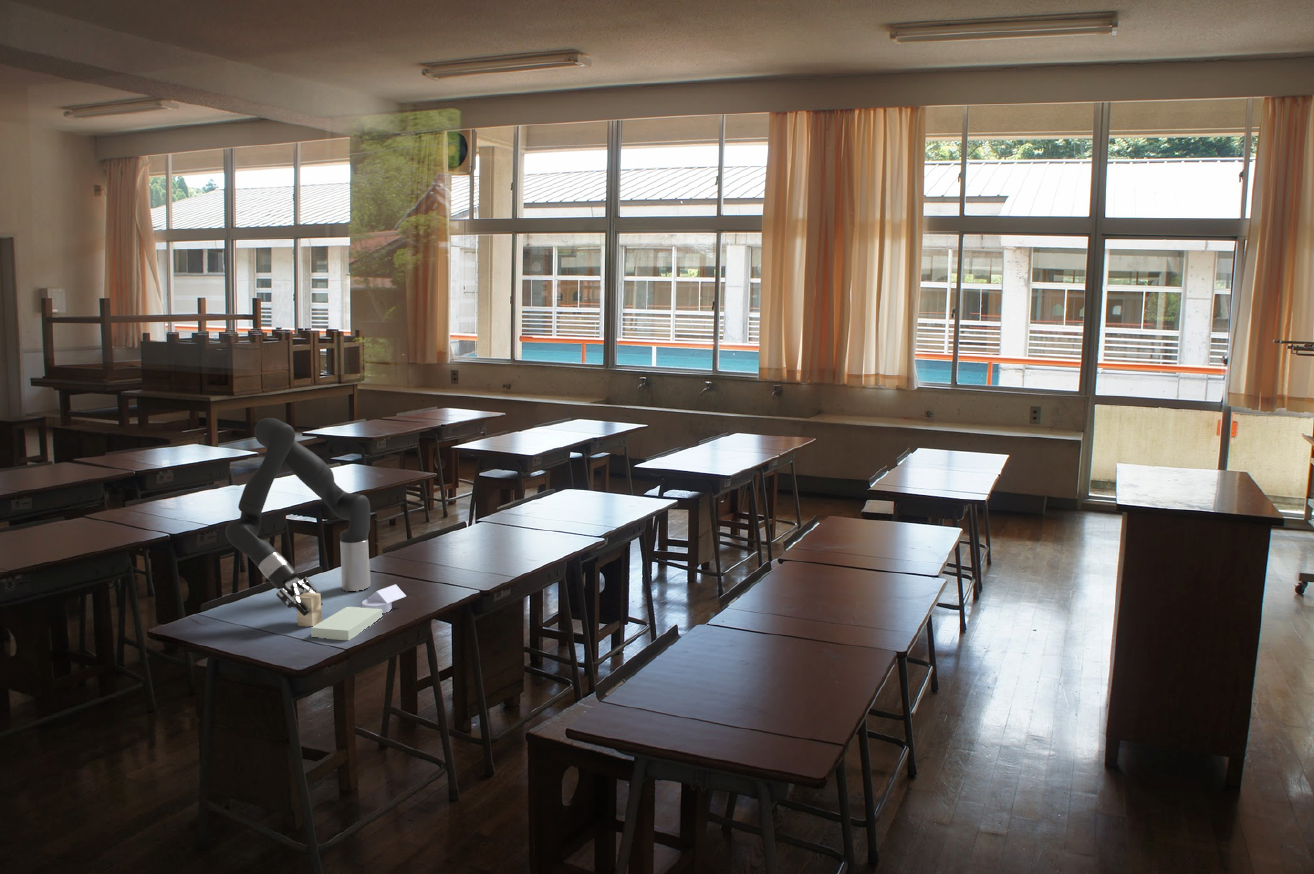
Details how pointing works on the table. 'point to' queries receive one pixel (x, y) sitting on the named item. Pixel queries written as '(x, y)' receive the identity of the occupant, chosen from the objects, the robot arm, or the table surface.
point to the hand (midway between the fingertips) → (313, 609)
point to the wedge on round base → (383, 598)
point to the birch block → (310, 609)
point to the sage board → (346, 623)
